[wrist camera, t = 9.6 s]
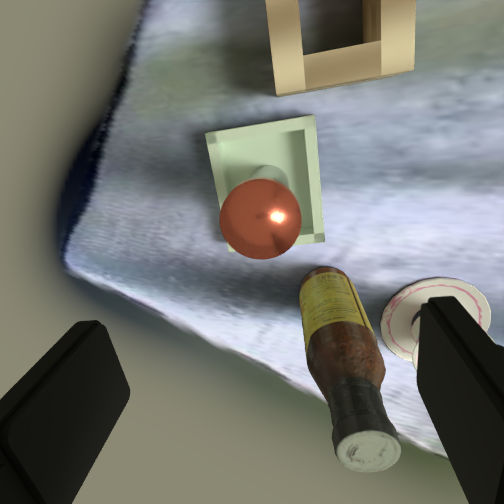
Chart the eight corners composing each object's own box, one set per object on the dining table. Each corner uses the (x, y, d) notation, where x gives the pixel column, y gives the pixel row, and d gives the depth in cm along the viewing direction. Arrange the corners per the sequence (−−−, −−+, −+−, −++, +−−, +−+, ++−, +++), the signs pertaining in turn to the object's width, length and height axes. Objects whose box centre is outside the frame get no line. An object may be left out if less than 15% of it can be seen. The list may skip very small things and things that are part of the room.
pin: (237, 161, 33) (212, 186, 22) (293, 152, 32) (296, 174, 21) (246, 215, 35) (227, 263, 24) (299, 208, 34) (305, 255, 23)
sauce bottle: (288, 290, 39) (287, 448, 21) (325, 253, 37) (361, 396, 18) (328, 321, 40) (362, 497, 22) (367, 288, 38) (440, 454, 20)
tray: (210, 131, 33) (204, 133, 30) (312, 114, 31) (314, 115, 29) (232, 243, 37) (228, 252, 35) (322, 233, 36) (324, 241, 33)
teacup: (358, 331, 40) (370, 367, 35) (429, 256, 36) (455, 284, 30) (435, 376, 42) (458, 417, 36) (512, 310, 37) (552, 346, 32)
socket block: (263, -36, 27) (256, -73, 22) (390, -67, 25) (418, -115, 20) (278, 97, 31) (276, 94, 25) (390, 77, 29) (413, 69, 24)
